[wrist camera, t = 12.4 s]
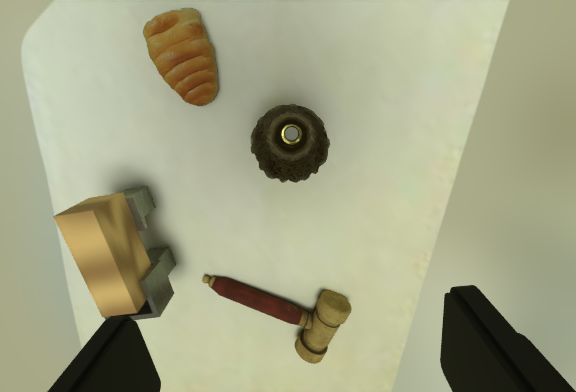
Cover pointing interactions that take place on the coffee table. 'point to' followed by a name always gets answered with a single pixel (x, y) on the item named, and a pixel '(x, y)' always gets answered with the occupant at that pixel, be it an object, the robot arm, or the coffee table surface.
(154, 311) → the cup bracket
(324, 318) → the gavel
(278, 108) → the cup
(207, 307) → the coffee table surface
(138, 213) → the grey tabbed slab
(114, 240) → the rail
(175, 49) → the pastry
